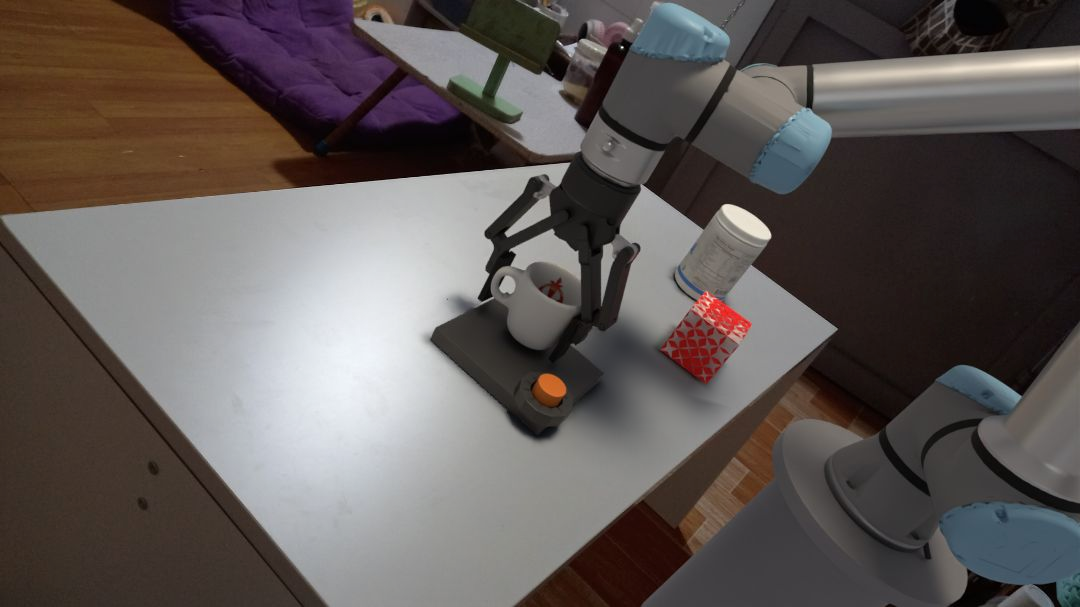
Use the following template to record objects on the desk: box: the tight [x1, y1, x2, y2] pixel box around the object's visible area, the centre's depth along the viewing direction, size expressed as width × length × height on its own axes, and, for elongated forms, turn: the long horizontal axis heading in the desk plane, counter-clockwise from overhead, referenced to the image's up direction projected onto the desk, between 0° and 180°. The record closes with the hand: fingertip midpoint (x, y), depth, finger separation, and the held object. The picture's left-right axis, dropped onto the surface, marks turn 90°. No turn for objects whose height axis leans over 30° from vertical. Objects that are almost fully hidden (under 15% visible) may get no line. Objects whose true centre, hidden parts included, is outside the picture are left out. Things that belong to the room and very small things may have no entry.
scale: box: [429, 291, 605, 436], centre depth 74 cm, size 17×15×4 cm
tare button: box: [532, 374, 566, 408], centre depth 67 cm, size 3×3×2 cm
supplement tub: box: [674, 203, 772, 302], centre depth 107 cm, size 10×10×15 cm
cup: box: [491, 261, 581, 350], centre depth 74 cm, size 11×8×8 cm
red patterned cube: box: [659, 291, 753, 385], centre depth 91 cm, size 8×8×8 cm
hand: (520, 326), depth 76 cm, fingers closed on cup, 10 cm apart
